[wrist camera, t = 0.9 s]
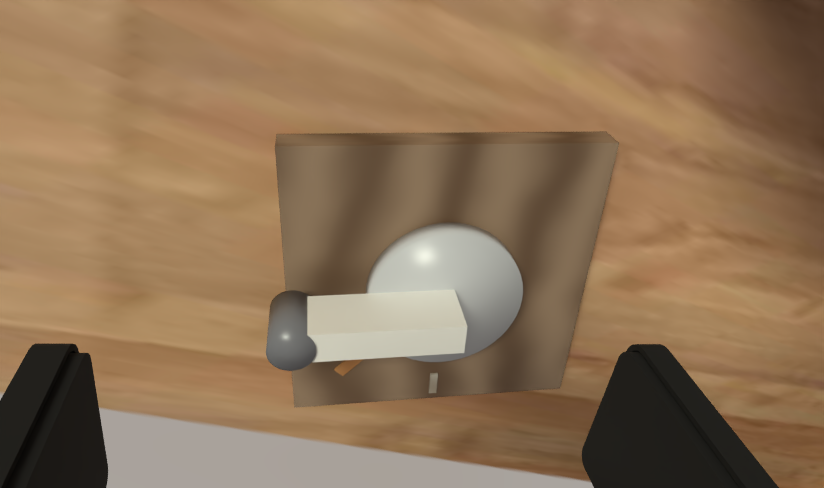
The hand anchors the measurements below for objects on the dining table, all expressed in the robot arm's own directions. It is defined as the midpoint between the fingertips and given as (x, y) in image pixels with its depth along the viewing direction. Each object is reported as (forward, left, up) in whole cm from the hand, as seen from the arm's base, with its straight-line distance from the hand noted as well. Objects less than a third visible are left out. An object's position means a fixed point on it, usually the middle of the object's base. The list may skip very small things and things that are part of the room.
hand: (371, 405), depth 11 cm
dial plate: (-8, +17, -29) cm, 35 cm away
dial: (-4, +17, -27) cm, 32 cm away
